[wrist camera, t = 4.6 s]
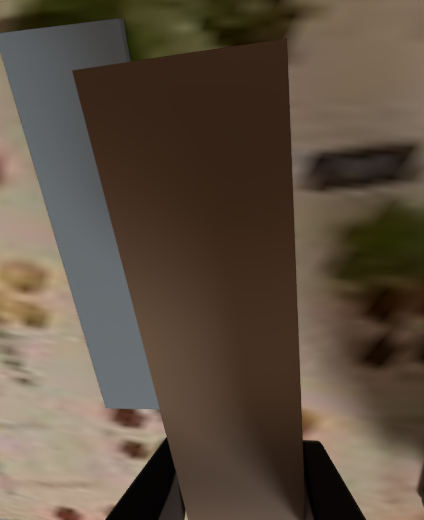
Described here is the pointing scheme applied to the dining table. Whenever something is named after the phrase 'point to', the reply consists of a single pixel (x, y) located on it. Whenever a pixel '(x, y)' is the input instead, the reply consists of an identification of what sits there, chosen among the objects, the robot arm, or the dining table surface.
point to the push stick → (210, 263)
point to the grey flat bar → (80, 194)
